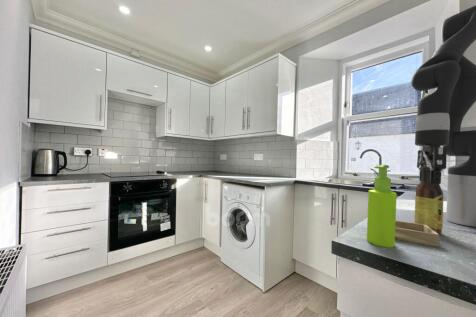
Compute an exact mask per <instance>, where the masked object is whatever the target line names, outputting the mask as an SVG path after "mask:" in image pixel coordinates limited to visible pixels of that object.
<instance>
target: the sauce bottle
mask: <svg viewBox="0 0 476 317" xmlns="http://www.w3.org/2000/svg"><path fill="white" fill-rule="evenodd" d="M430 171H431V170H430V167H421V181H419V183H418V185H417V186H416V187H415V197H414V223H417V224H424V225H427V226H428V227H429V228H431V229H432V230H433V231H435V232H436V233H438V234H439V235H442V229H443V221H444V219H443V218H444V192H443V190H442V188H441V186H440V185H441V184H431V183H430Z"/></svg>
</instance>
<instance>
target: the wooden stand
mask: <svg viewBox="0 0 476 317" xmlns="http://www.w3.org/2000/svg"><path fill="white" fill-rule="evenodd" d="M395 240H398V241H404V242H409V243H414V244H415V243H416V244H420V245H427V246H433V247H438V248H439V247H440V234H438V233H436V232H435V231H433V230H432V229H431V228H429V227H428V226H427V225H424V224H417V223H415V222H410V221H401V220H396V223H395Z"/></svg>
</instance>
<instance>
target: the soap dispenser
mask: <svg viewBox="0 0 476 317" xmlns="http://www.w3.org/2000/svg"><path fill="white" fill-rule="evenodd" d="M373 167H374V169H378V176H376V177H374V189H369V190H368V193H367V194H368V195H367V196H368V198H367V199H368V200H367V220H366V221H367V222H366V224H367V225H366V241H367V242H368V243H370V244H371V245H375V246H377V247H381V248H394V247H395V245H396V244H395V242H396V239H395V223H396V221H397V220H396V219H397V218H396V216H397V195H398V194H397V193H396V192H394V191H391V186H392V184H391V182H392V179H391V178H390V177H388V169H389V168H390V166H389V164H376V165H374V166H373Z"/></svg>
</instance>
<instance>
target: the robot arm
mask: <svg viewBox="0 0 476 317" xmlns="http://www.w3.org/2000/svg"><path fill="white" fill-rule="evenodd" d="M440 34H441V35H440V36H441V44H440V45H439V46H438V47H437V49H436V50H435V51H434V53H433V54H432V56H431V58H429V59H428V60H427V61H425V62H424V63H423V64H422V65H420V66H419V67H418V68H417V69H416V70H415V71H414V73H413V75H412V76H411V86H412V88H413V89H414V90H415V91H419V92H425V91H428V90H429V91H430V90H434V89H436V90H435V91H434V92H432V93H430V94H427V95H425V96H423V97H421V98H420V99H419V100H418V101H417V102H418V103H417V111H416V112H417V113H416V114H417V116H416V121H415V130H414V131H415V133H414V134H415V135H414V145H415V146H417V147H422V148H421V150H420V149H418V151H417V159H416V160H417V161H416V168H417V169H418V170H419V179H418V181H419V182H421V167H430V170H431V171H430V183H431V184H439V185H441V184H442V172H443V171H444V170H446V169H447V188H446V189H447V190H446V192H447V194H446V214H445V215H446V216H445V220H446V221H447V222H450V223H454V224H457V225H463V226H469V227H475V228H476V129H472V130H461V128H462V123H463V120H464V118H465V116H466V115H467V112H468V111H469V110H470V109H471V108H472V107H473V105H474V104H475V103H476V64H475V63H474V62H472V61H471V60H469V59H468V58H467V57H466V56H465V55H464V54H465V52H466V51H467V49H469V47H470V46H472V45H473V43H474V42H475V41H476V5H473V6H471V7H469V8H466V9H464V10H462V11H460V12H458V13H455V14H453V15H451V16H449V17H447V18H445V19H444V21H443V22H442V24H441V29H440ZM447 156H448V157H469V158H468V159H467V161H465V162H462V163H459V164H456V165H450V166H449V167H448V168H447Z"/></svg>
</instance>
